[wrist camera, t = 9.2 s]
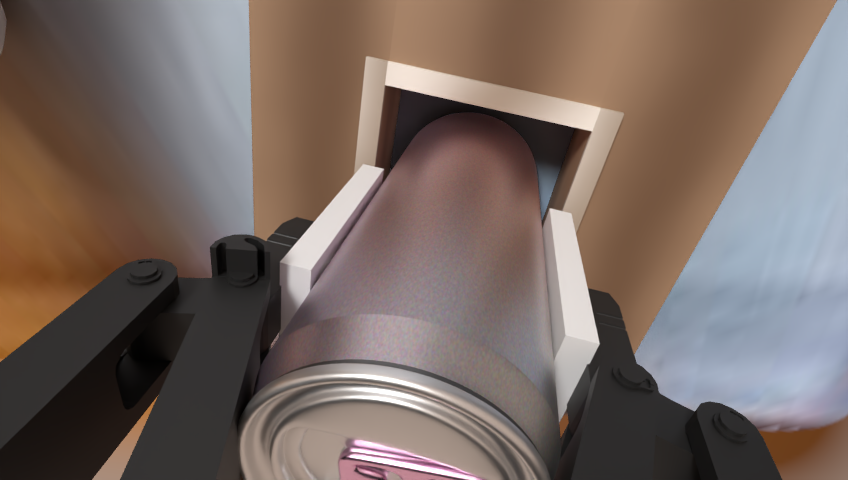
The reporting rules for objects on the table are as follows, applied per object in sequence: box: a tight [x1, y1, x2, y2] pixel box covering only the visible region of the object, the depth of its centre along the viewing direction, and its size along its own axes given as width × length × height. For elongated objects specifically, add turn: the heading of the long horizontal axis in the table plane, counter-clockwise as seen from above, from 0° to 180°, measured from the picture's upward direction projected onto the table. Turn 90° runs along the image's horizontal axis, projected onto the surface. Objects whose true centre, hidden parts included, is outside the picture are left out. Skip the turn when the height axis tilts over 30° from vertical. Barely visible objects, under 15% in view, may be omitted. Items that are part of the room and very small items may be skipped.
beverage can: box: [238, 112, 561, 480], centre depth 14 cm, size 6×6×15 cm
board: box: [249, 0, 837, 354], centre depth 19 cm, size 18×18×3 cm
